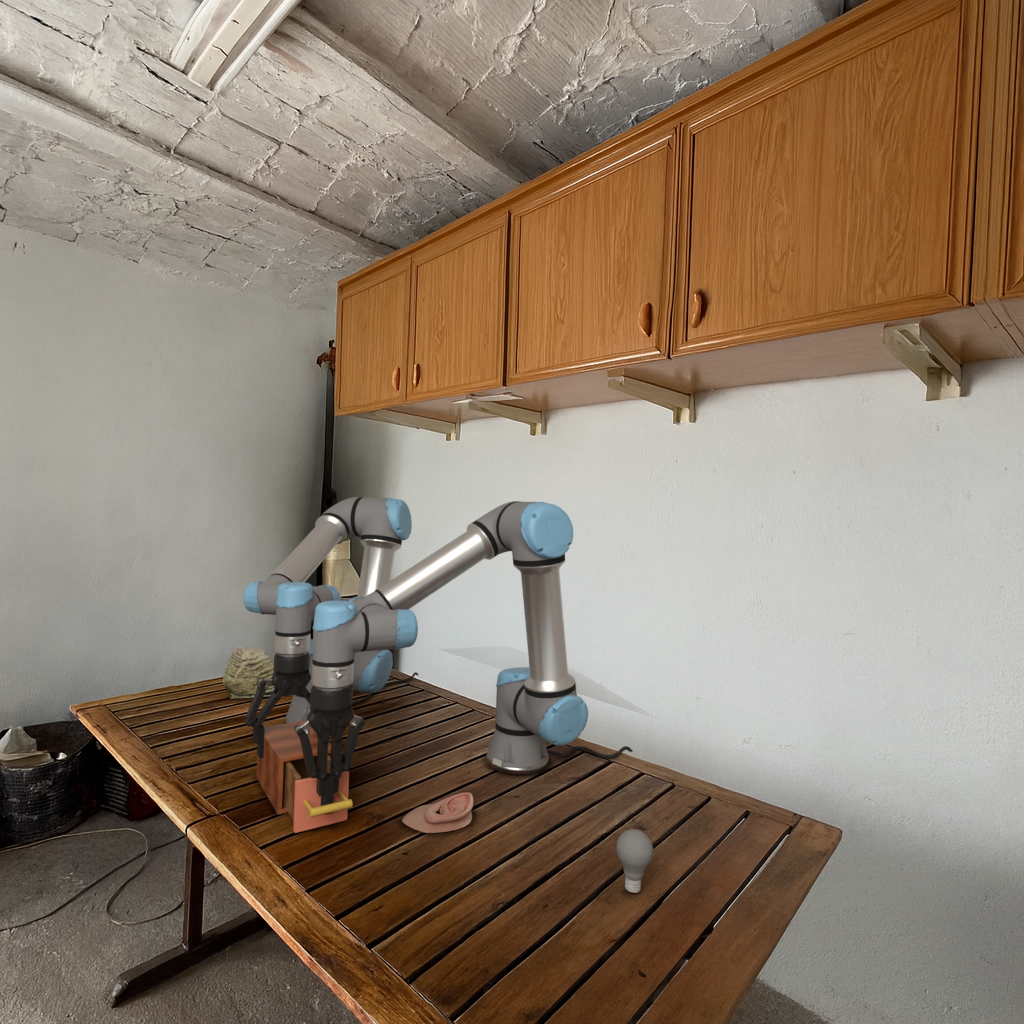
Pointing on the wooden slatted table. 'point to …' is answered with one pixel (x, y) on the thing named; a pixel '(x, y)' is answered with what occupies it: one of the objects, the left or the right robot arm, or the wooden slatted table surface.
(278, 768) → the cabinet
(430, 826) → the anatomical model
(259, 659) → the fossil
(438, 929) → the wooden slatted table surface
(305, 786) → the drawer
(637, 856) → the light bulb
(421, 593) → the right robot arm
